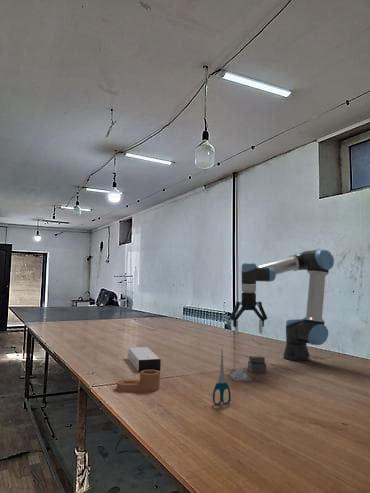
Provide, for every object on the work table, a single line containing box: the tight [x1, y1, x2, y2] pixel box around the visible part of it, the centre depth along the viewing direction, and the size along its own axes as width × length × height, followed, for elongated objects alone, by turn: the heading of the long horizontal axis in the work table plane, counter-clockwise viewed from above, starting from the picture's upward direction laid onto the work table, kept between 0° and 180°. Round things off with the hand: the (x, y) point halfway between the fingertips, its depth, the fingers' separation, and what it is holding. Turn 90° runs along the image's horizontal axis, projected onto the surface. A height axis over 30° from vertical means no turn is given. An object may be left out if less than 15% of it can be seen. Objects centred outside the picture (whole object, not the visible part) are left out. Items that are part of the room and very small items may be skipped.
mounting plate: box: [227, 365, 252, 382], centre depth 175 cm, size 8×12×5 cm, turn 6°
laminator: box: [127, 346, 162, 373], centre depth 200 cm, size 34×12×6 cm, turn 17°
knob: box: [247, 355, 267, 374], centre depth 187 cm, size 8×8×8 cm
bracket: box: [116, 370, 161, 393], centre depth 155 cm, size 18×8×7 cm, turn 93°
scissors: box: [212, 349, 232, 406], centre depth 137 cm, size 7×1×20 cm, turn 105°
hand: (248, 333), depth 191 cm, fingers open, 13 cm apart
